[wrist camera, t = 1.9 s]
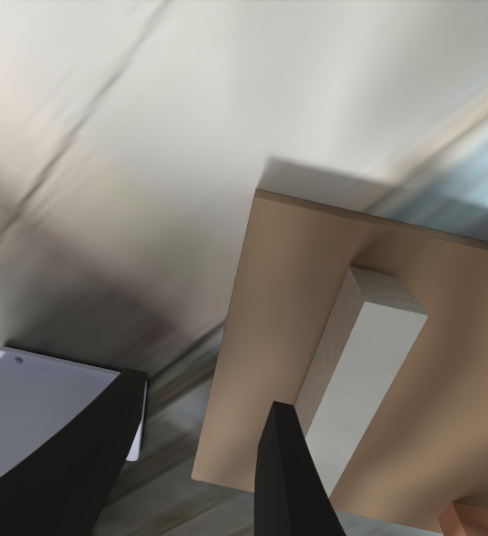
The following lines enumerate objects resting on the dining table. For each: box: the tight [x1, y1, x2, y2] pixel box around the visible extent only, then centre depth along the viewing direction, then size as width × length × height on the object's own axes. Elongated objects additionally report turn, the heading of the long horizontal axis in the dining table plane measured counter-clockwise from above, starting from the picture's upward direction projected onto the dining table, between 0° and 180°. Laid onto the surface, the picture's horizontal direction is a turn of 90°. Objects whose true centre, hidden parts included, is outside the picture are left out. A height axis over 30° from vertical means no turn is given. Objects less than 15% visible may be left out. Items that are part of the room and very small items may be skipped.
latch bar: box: [294, 266, 428, 498], centre depth 16 cm, size 15×3×4 cm, turn 168°
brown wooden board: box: [191, 189, 488, 536], centre depth 18 cm, size 21×20×4 cm
